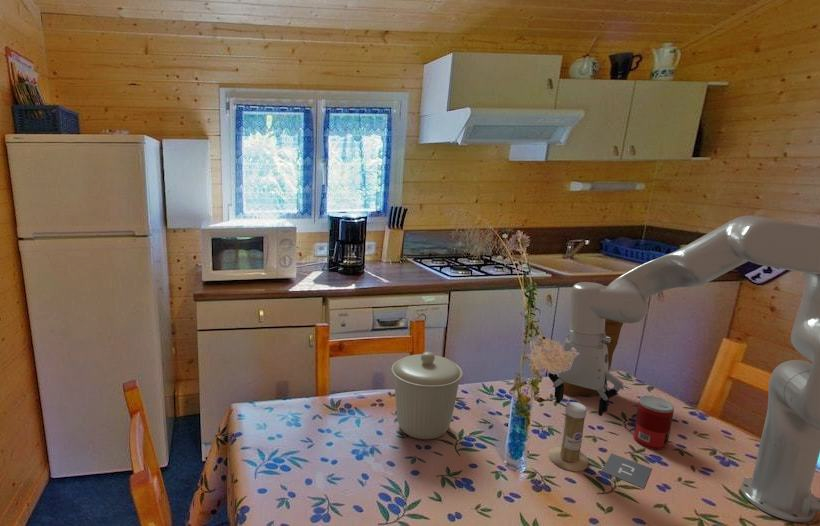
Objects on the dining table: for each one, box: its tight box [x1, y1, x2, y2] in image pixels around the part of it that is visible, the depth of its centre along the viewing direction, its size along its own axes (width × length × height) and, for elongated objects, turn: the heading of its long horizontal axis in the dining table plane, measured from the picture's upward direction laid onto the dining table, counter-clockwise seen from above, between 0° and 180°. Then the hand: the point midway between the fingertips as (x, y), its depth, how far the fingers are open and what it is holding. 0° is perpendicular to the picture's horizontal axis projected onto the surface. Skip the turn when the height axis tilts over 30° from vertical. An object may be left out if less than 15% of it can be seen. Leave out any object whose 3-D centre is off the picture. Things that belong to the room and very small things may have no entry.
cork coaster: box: [548, 445, 589, 472], centre depth 112 cm, size 9×9×1 cm
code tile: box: [601, 452, 652, 489], centre depth 109 cm, size 9×9×1 cm
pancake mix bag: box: [563, 319, 624, 397], centre depth 143 cm, size 7×19×28 cm, turn 101°
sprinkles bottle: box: [560, 401, 588, 463], centre depth 111 cm, size 5×5×14 cm
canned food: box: [633, 395, 675, 450], centre depth 120 cm, size 8×8×11 cm
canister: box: [390, 351, 464, 440], centre depth 120 cm, size 18×18×21 cm
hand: (579, 407), depth 109 cm, fingers open, 9 cm apart
